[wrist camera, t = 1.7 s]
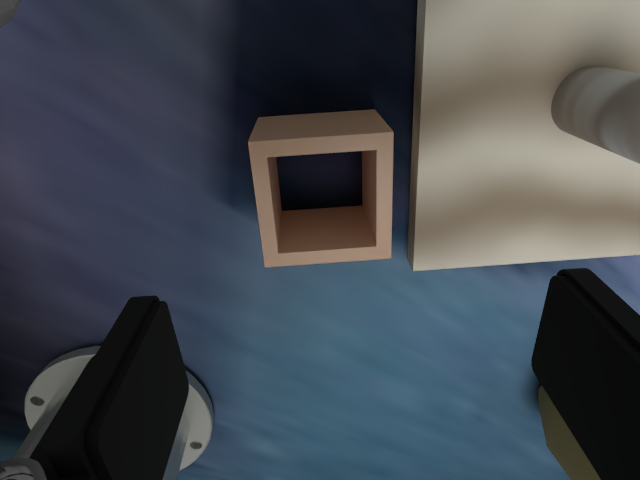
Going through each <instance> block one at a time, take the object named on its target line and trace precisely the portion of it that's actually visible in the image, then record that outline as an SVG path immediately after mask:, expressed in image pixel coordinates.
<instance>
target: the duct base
mask: <svg viewBox="0 0 640 480" xmlns="http://www.w3.org/2000/svg"><path fill="white" fill-rule="evenodd" d="M628 255H640V0H418V4H417V29H416V54H415V79H414V103H413V128H412V153H411V178H410V203H409V227H408V252H407V259H408V261H409V263H410V265H411V268H412V270H413V271H421V270H435V269H449V268H462V267H476V266H490V265H504V264H518V263H531V262H545V261H559V260H573V259H587V258H600V257H614V256H628Z"/></svg>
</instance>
